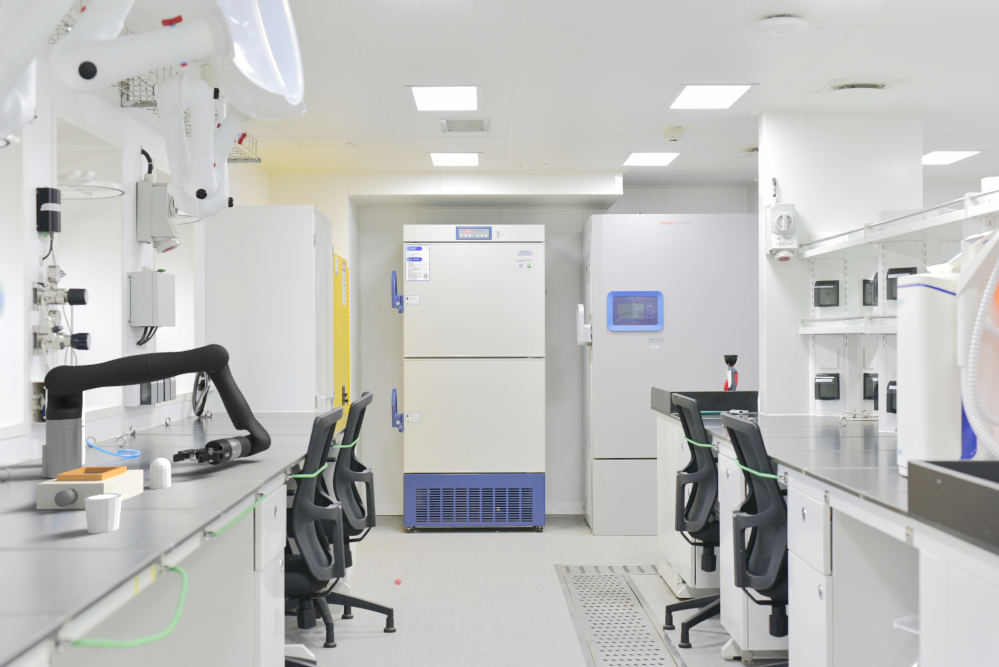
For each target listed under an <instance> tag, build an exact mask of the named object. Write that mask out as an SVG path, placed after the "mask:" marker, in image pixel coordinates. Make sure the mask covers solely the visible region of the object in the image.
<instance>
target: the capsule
mask: <svg viewBox="0 0 999 667" xmlns="http://www.w3.org/2000/svg"><path fill="white" fill-rule="evenodd" d="M171 487H172V466H171V462H170V461H169V460H168V459H167V458H165V457H158V458H155V459H153V460H152V461H151V462H150V464H149V489H150V490H163V489H168V488H171Z"/></svg>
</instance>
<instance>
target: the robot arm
mask: <svg viewBox="0 0 999 667" xmlns="http://www.w3.org/2000/svg"><path fill="white" fill-rule="evenodd" d="M229 361H230V354H229V352H228V350H227V349H226V348H225V347H224V346H222V345H221V344H218V343H210V344H207V345H204V346H200V347H196V348H191V349H186V350H182V351H159V352H149V353H148V352H147V353H140V354H134V355H127V356H123V357H118V358H115V359H111V360H107V361H103V362H98V363H93V364H82V365H81V364H80V365H68V364H67V365H65V364H63V365H58V366H55V367H53V368H51V369H50V370H49V371H48V372H47V373H46V374H45V376H44V380H43V384H44V387H45V389H46V392H47V396H46V397H47V398H46V402H47V403H46V408H45V444H43V445H42V447H41V448H42V450H41V451H42V452H41V453H42V454H41V456H42V458H41V461H42V462H41V463H42V465H41V467H42V469H41V470H42V472H41V473H42V474H41V475H42V476H41V477H42V478H47V479H55V478H57V475H58V474H61V473H65V472H68V471H72V470H75V469H79V468H82V467H83V465H82V408H83V391H85V392H86V391H90V390H95V389H100V388H107V387H108V388H109V387H111V388H112V387H123V386H124V387H126V386H135V385H142V384H148V383H154V382H159V381H163V380H166V379H171V378H175V377H177V376H180V375H181V376H182V375H186V374H196V373H206V374H207V376H208V377H209V378H210V380H211V382H212V383H213V385H214V386H215V389H216V391H217V393H218V394H219V397H220V399H221V401H222V403H223V406H224V408H225V410H226V414H227V415H228V417H229V420H230V421H231V423H232V425H233V427H234V429H235V430H237V431H247V432H248V433H249V434H247V435H243V436H242V435H237V436H233V437H223V438H218V439H213V440H210V441H208V442H207V443H206V444H205V445H204V447H199V448H188V449H184V450H178V451H177V453H175V454H173V456H172V462H173V463H179V462H182V461H183V462H185V461H189V462H196V461H197V463H198V464H202V463H203V464H204V463H208V464H209V465H211V466H217V465H221V464H225V463H229V462H232V461H234V460H237V459H241V458H248V457H252V456H255V455H257V454H260V453H262V452H265V451H267V450H269V449H270V447H271V445H272V438H271V436H270V434H269V432H268V431H267V429H266V428H264V426H263V425H262V424H261V423H260V422H259V421H258V420H257V419H256V417H255V415H254V413H253V411H252V409H251V407H250V405H249V403H248V401H247V399H246V398H245V396H244V394H243V393H242V391H241V390H240V388H239V386H238V384H237V383H236V381H235V379H234V377H233V375H232V371H231V369H230V365H229Z"/></svg>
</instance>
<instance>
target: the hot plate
mask: <svg viewBox="0 0 999 667" xmlns="http://www.w3.org/2000/svg"><path fill="white" fill-rule="evenodd" d="M127 467H128V466H82V468H79V469H75V470H72V471H68V472H65V473H61V474H58V475H57V478H51V479H49V480H46V481H42V482H39V483H36V510H86V508H85V498H86V497H90V496H94V495H99V494H110V493H113V494H121V495H122V501H121V502H124V501H125V500H129V499H131V498H134V497H136V496H138V495H141V494H143V493H144V469H127Z"/></svg>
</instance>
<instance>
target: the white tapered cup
mask: <svg viewBox="0 0 999 667" xmlns="http://www.w3.org/2000/svg"><path fill="white" fill-rule="evenodd" d="M122 502H123V501H122V495H121V494H113V493H110V494H99V495H94V496H90V497H86V498H85V508H86V509H85V517H86V524H87V525H86V526H87V527H86V528H87V533H89V534H106V533H110V532H114V531H116V530H117V531H118V530H119V528H120V520H121V509H122Z"/></svg>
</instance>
